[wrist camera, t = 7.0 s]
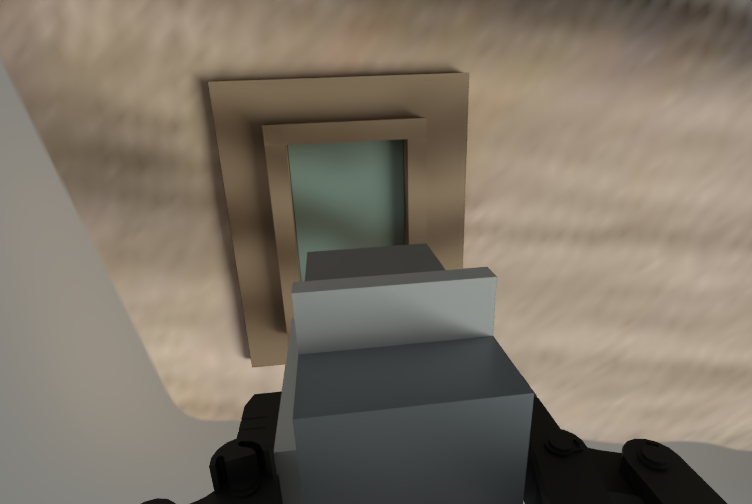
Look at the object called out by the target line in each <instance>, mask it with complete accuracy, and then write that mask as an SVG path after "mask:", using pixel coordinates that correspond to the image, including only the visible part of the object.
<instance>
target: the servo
mask: <svg viewBox="0 0 752 504" xmlns="http://www.w3.org/2000/svg"><path fill="white" fill-rule="evenodd" d="M496 284H497V276H496V275H495V274H494V273H493V272H492V271H491V270H490V269H489V268H488V267H480V268H467V269H454V270H445V268H444V267H443V266H442V264H441V263H440V261H439V260H438V259H437V257H436V256H435V254H434V253H433V252H432V250H431V249H430V247H429V246H428V245H427V243H424V244H410V245H397V246H383V247H369V248H355V249H341V250H328V251H314V252H307V261H306V272H305V281H303V282H293V287H292V293H291V294H292V303H293V312H294V321H295V330H296V339H297V348H298V363H297V375H296V386H295V398H294V409H293V427H294V435H295V443H296V451H297V459H298V468H299V476H300V484H301V492H302V500H303V504H523V497H524V487H525V477H526V468H527V458H528V448H529V439H530V429H531V419H532V410H533V400H534V392H533V391H532V389H531V388H530V386H529V385H528V384H527V382H526V381H525V379H524V378H523V377H522V375H521V374H520V373H519V371H518V370H517V368H516V367H515V366H514V364H513V363H512V361H511V360H510V359H509V357H508V356H507V354H506V353H505V352H504V350H503V349H502V348H501V346H500V345H499V343H498V342H497V341H496V339H495V338H494V336H493V332H494V316H495V300H496Z"/></svg>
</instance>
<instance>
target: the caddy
mask: <svg viewBox="0 0 752 504" xmlns="http://www.w3.org/2000/svg"><path fill="white" fill-rule="evenodd" d="M208 86H209V92H210V99H211V105H212V112H213V118H214V124H215V131H216V137H217V144H218V150H219V157H220V163H221V170H222V176H223V182H224V189H225V195H226V202H227V208H228V215H229V221H230V227H231V234H232V240H233V247H234V253H235V260H236V266H237V273H238V279H239V285H240V292H241V298H242V305H243V311H244V318H245V324H246V331H247V337H248V343H249V350H250V356H251V363H252V367H262V366H273V365H283V364H286V357H287V350H288V343H289V335H290V328H291V321H292V318H294V312H293V303H292V294H291V293H292V287H293V282H303V281H305V272H306V261H307V252H314V251H328V250H341V249H355V248H369V247H383V246H397V245H410V244H424V243H427V245H428V246H429V247H430V249H431V250H432V252H433V253H434V254H435V256H436V257H437V259H438V260H439V261H440V263H441V264H442V266H443V267H444V268H445V270H454V269H463V245H464V215H465V184H466V153H467V123H468V92H469V73H443V74H414V75H386V76H357V77H329V78H300V79H272V80H243V81H215V82H208Z"/></svg>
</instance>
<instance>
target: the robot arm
mask: <svg viewBox="0 0 752 504" xmlns="http://www.w3.org/2000/svg"><path fill="white" fill-rule="evenodd" d="M297 363H298V348H297V339H296V330H295V321H294V318H292V321H291V328H290V335H289V343H288V350H287V357H286V365H285V372H284V379H283V387H282V392H273V393H263V394H254V396H253V397H252V398H251V399H250V400H249V402H248V403H247V404H246V405H245V407H244V411H243V415H242V421H241V423H240V427H239V432H238V435H237V439H235V440H233V441H230V442H227V443H226V444H224V445H223V446H222V447H220V448H219V449H218V450H217V451H216V452H215V454H214V455H213V456H212V458H211V461H210V465H209V468H210V473H211V477H212V482H213V487H214V491H213V492H212V493H211V494H209V495H208V496H206V497H204V498H203V499H200V500H198V501H196V502H193V503H191V504H303V500H302V492H301V484H300V476H299V468H298V459H297V451H296V443H295V435H294V427H293V409H294V398H295V386H296V375H297ZM522 377H523V376H522ZM523 378H524V377H523ZM525 381H526V380H525ZM527 384H528V383H527ZM528 385H529V384H528ZM532 391H533V390H532ZM533 392H534V391H533ZM523 500H524V502H525V504H727V503H726V502H725V501H724V500H723V499H722V498H721V497H720V496H719V495H718V494H717V493H716V492H715V491H714V490H713V489H712V488H711V487H710V486H709V485H708V484H707V483H706V482H705V481H704V480H703V479H702V478H701V477H700V476H699V475H698V474H697V473H696V472H695V471H694V470H693V469H692V468H691V467H690V466H689V465H688V464H687V463H686V462H685V461H684V460H683V459H682V458H681V457H680V456H679V455H678V454H676V453H675V452H674V451H672V450H671V449H670V448H668V447H666V446H664V445H662V444H660V443H658V442H655V441H651V440H647V439H633V440H630V441H627V442H626V443H625V445H624V446H623V448H622V453H616V452H609V451H602V450H596V449H591V448H588V447H587V446H586V445H585V444H584V442H583V441H582V440H581V439H580V438H578V437H577V436H576V435H574V434H572V433H570V432H568V431H566V430H562V429H560V428H559V426H558V425H557V423H556V422H555V421H554V419H553V418H552V416H551V415H550V414H549V412H548V411H547V409H546V408H545V407H544V405H543V404H542V402H541V401H540V400H539V398H537V396H536V394H535V393H534V400H533V410H532V419H531V429H530V439H529V448H528V458H527V468H526V477H525V487H524V497H523ZM142 504H175V503H174V502H172V501H170V500H169V499H153V500H149V501H146V502H143V503H142Z"/></svg>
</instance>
